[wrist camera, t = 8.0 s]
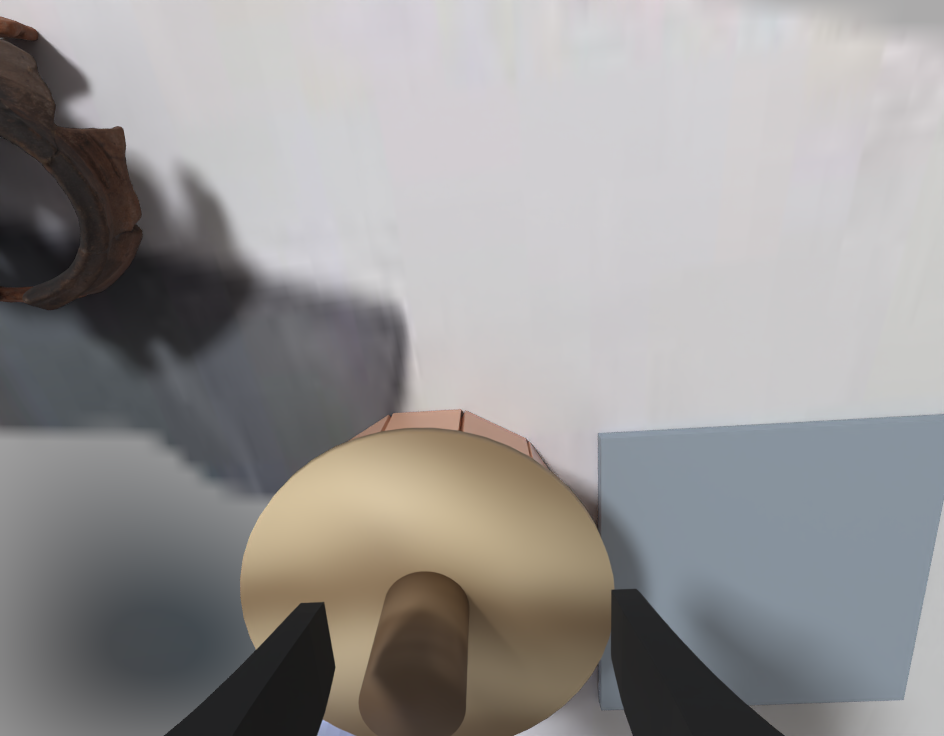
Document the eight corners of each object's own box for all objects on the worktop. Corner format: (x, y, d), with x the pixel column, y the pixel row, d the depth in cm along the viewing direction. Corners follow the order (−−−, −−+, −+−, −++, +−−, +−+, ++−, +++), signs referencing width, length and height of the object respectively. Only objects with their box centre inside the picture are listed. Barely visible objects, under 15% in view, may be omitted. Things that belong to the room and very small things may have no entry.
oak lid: (613, 728, 21) (648, 863, 16) (283, 743, 21) (231, 877, 17) (609, 413, 17) (653, 476, 13) (211, 441, 18) (121, 511, 13)
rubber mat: (893, 689, 25) (903, 700, 25) (598, 699, 26) (601, 710, 25) (946, 414, 22) (959, 419, 21) (598, 433, 22) (601, 438, 22)
